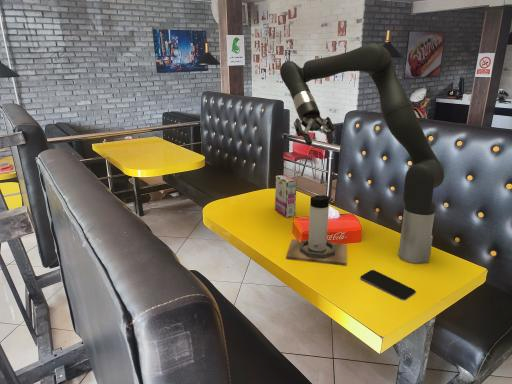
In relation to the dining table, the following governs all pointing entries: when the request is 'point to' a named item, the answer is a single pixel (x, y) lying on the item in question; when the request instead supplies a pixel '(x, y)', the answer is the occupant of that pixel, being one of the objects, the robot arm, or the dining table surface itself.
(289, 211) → the candy bar box
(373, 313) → the dining table surface
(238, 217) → the dining table surface
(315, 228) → the travel mug
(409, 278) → the dining table surface
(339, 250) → the mug holder board
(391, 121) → the robot arm
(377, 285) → the smartphone
